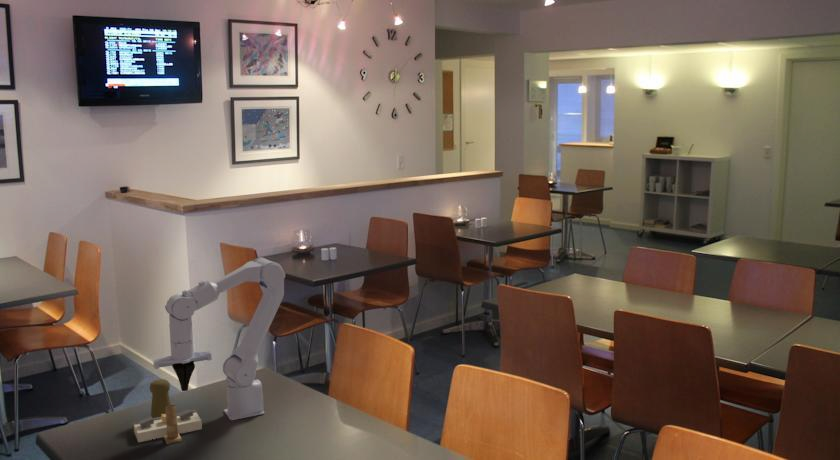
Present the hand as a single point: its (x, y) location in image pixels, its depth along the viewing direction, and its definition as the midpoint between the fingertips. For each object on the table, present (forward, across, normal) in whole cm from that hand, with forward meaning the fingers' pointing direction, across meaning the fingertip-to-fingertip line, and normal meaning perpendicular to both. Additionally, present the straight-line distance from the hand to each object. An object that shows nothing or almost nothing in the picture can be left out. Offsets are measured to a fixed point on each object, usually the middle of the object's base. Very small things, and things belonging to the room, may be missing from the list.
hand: (184, 389), depth 195 cm
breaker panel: (+10, -5, 0) cm, 11 cm away
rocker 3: (+8, 0, 0) cm, 8 cm away
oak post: (+10, -5, -6) cm, 13 cm away
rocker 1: (+8, -10, 0) cm, 13 cm away
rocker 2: (+8, -5, 0) cm, 9 cm away
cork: (+11, -5, +9) cm, 15 cm away
